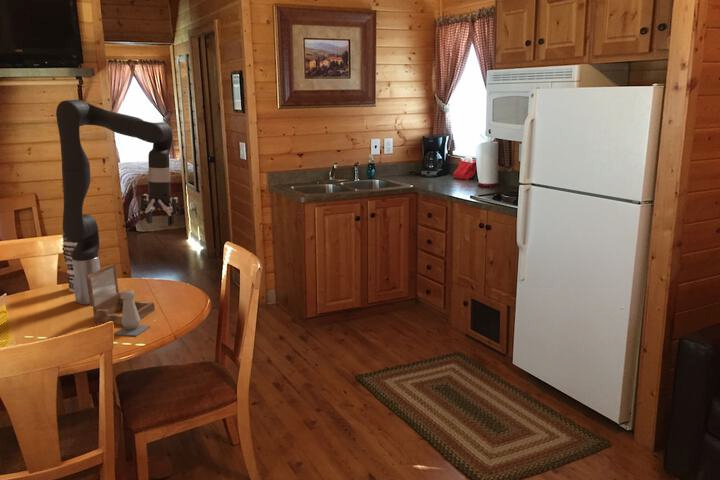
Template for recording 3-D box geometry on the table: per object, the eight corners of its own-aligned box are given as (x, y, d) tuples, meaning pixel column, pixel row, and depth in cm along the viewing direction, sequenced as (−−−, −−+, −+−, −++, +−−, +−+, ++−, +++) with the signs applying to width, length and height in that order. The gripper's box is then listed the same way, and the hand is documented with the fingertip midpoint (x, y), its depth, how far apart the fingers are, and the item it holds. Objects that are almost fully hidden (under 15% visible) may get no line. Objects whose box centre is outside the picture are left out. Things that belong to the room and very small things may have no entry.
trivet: (114, 334, 200) (114, 333, 200) (129, 325, 208) (129, 324, 208) (136, 336, 198) (136, 335, 198) (150, 327, 206) (149, 325, 206)
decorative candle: (95, 289, 246) (86, 229, 240) (70, 293, 241) (61, 232, 235) (90, 283, 254) (82, 225, 247) (66, 287, 249) (57, 228, 242)
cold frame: (92, 322, 211) (86, 276, 207) (118, 307, 225) (112, 263, 221) (131, 325, 208) (125, 278, 203) (155, 310, 221) (150, 265, 217)
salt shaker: (125, 324, 207) (120, 288, 204) (142, 323, 208) (138, 287, 205) (120, 331, 202) (115, 294, 198) (138, 330, 202) (133, 293, 199)
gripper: (135, 179, 213) (136, 224, 217) (171, 182, 209) (171, 228, 213) (148, 176, 220) (149, 220, 224) (182, 180, 216) (183, 224, 220)
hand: (160, 224), depth 218 cm, fingers open, 8 cm apart
